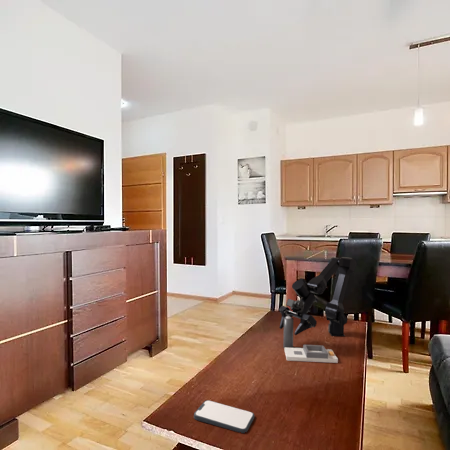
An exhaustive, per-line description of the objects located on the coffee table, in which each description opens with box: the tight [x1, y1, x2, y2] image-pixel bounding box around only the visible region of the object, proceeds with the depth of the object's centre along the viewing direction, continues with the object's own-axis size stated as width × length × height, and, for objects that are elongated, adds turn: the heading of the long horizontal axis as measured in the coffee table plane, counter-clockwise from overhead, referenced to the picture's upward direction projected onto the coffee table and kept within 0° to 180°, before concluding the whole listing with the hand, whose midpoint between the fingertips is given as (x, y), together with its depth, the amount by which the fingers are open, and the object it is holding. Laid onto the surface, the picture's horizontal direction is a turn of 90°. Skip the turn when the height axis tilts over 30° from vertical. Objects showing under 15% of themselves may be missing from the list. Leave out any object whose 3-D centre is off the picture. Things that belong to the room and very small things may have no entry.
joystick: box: [283, 316, 294, 350], centre depth 142 cm, size 4×4×14 cm
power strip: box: [284, 344, 339, 364], centre depth 133 cm, size 20×10×4 cm, turn 85°
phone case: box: [193, 399, 255, 434], centre depth 91 cm, size 9×2×16 cm
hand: (287, 331), depth 142 cm, fingers open, 9 cm apart
